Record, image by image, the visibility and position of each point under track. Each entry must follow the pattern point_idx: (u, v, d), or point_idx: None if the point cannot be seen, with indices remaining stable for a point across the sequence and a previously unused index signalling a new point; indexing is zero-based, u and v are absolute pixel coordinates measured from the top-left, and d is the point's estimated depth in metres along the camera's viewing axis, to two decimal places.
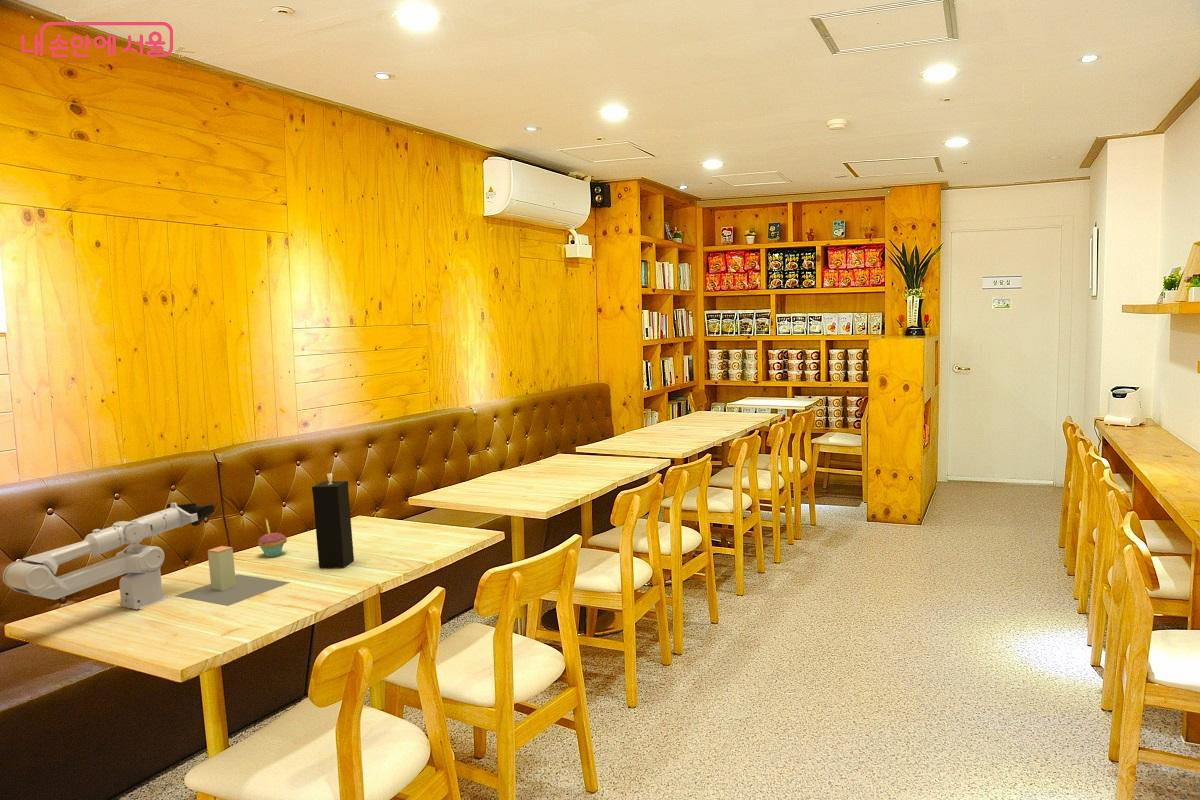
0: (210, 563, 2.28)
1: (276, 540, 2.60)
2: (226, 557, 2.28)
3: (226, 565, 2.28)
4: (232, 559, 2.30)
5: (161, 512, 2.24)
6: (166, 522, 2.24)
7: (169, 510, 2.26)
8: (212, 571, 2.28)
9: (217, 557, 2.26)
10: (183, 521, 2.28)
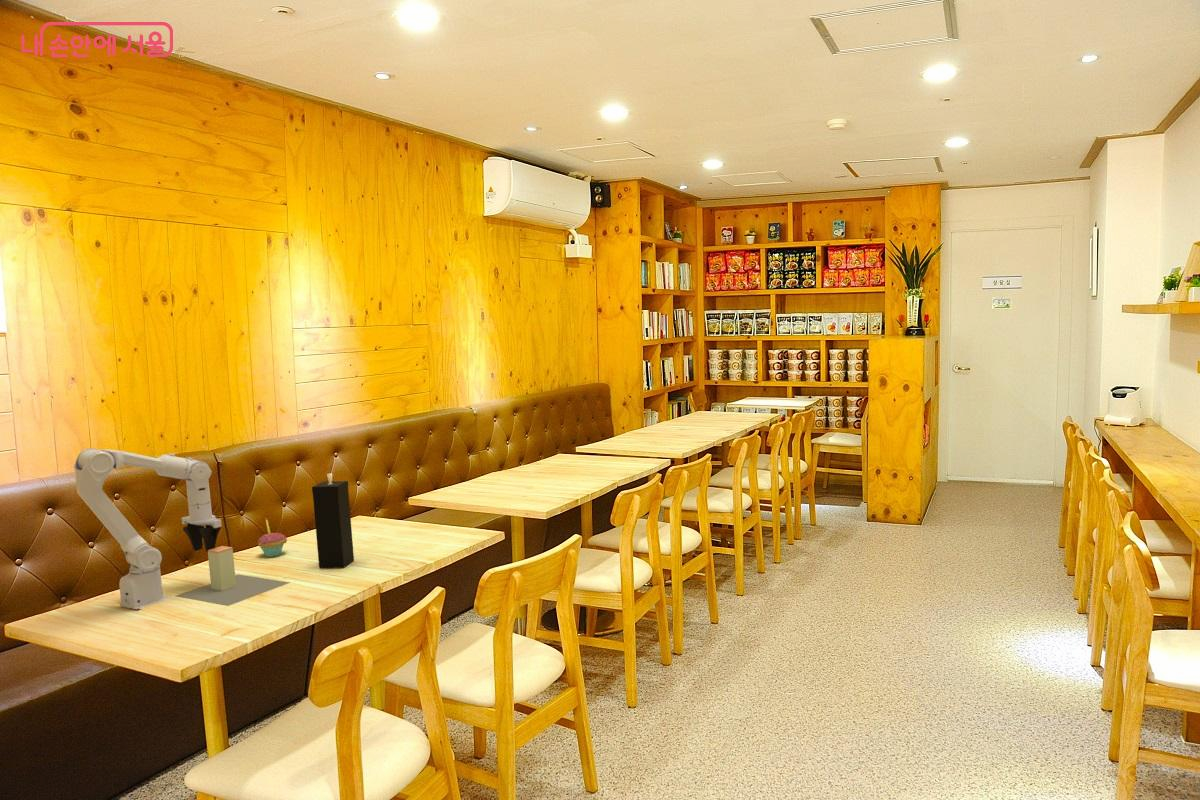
0: (210, 563, 2.28)
1: (276, 540, 2.60)
2: (226, 557, 2.28)
3: (226, 565, 2.28)
4: (232, 559, 2.30)
5: None
6: (206, 503, 2.30)
7: None
8: (212, 571, 2.28)
9: (217, 557, 2.26)
10: None
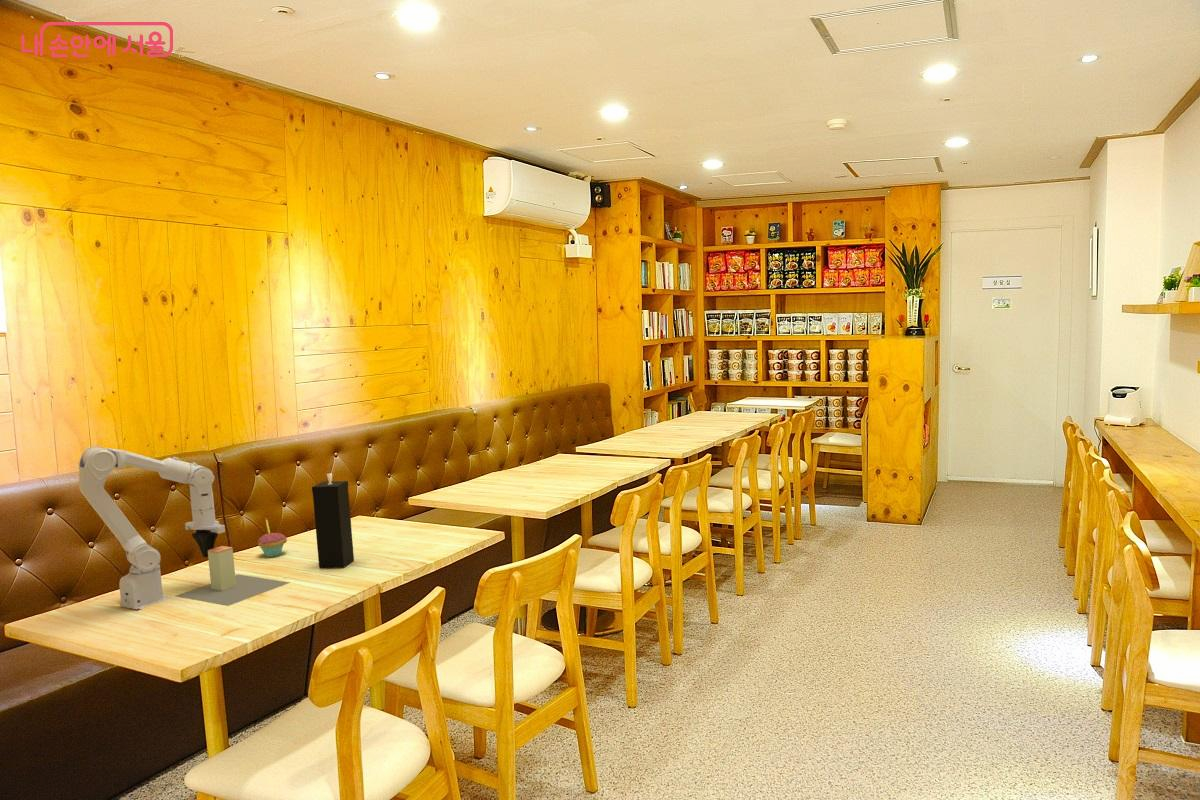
0: (210, 563, 2.28)
1: (276, 540, 2.60)
2: (226, 557, 2.28)
3: (226, 565, 2.28)
4: (232, 559, 2.30)
5: None
6: (209, 509, 2.29)
7: None
8: (212, 571, 2.28)
9: (217, 557, 2.26)
10: None
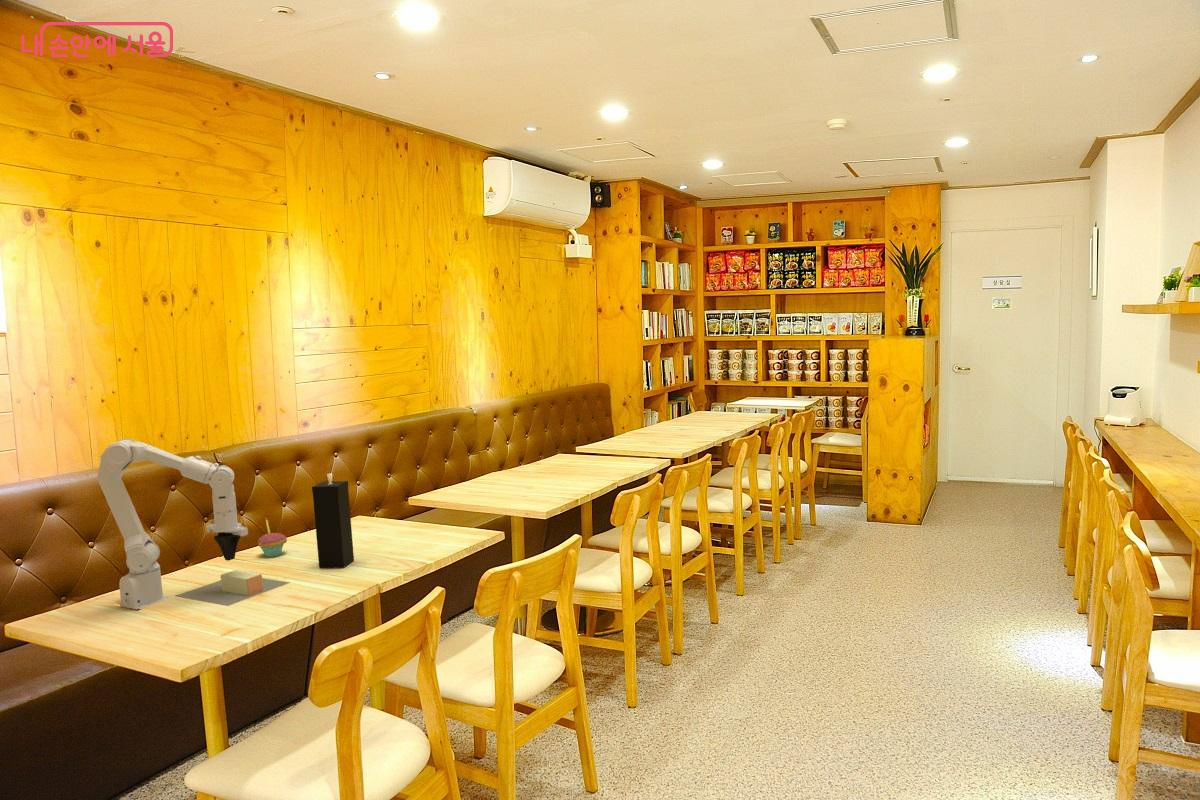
0: (238, 579, 2.23)
1: (276, 540, 2.60)
2: None
3: None
4: None
5: None
6: (232, 511, 2.25)
7: None
8: (233, 580, 2.24)
9: (244, 592, 2.22)
10: None
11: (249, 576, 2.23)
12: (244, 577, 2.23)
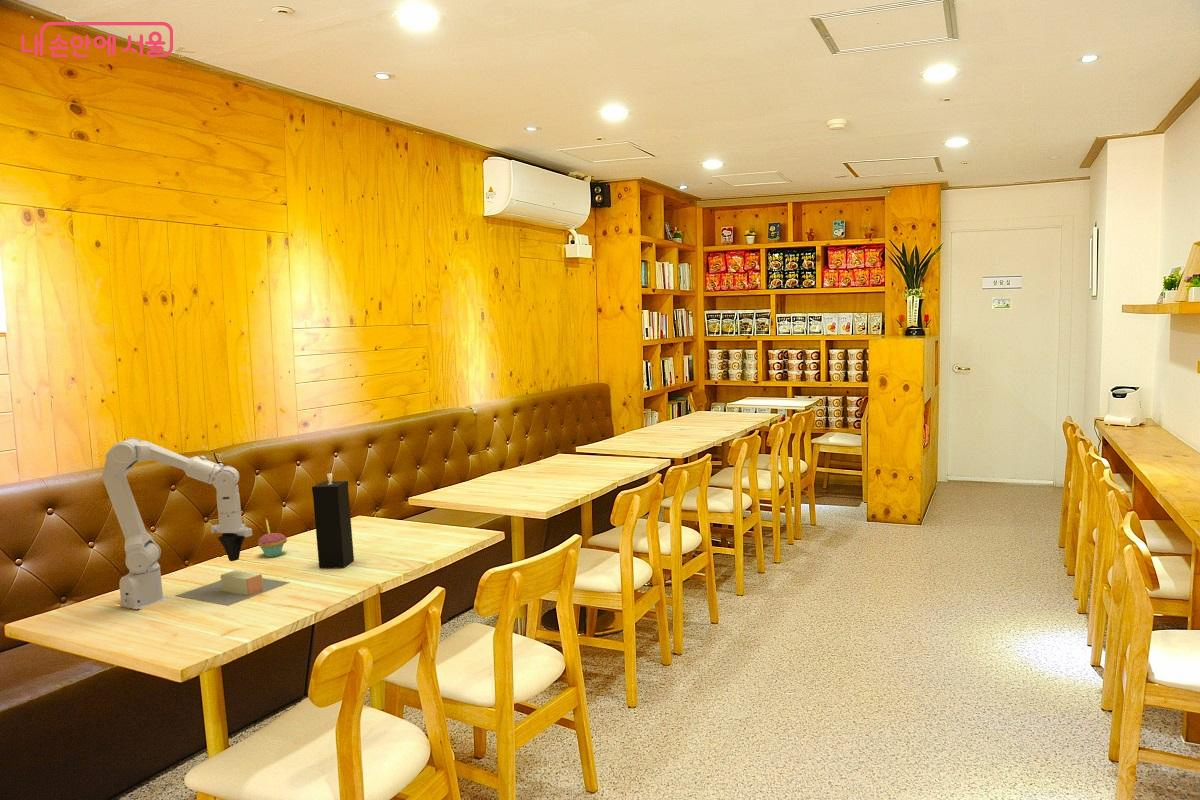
0: (238, 579, 2.23)
1: (276, 540, 2.60)
2: None
3: None
4: None
5: None
6: (236, 512, 2.24)
7: None
8: (233, 580, 2.24)
9: (244, 592, 2.22)
10: None
11: (249, 576, 2.23)
12: (244, 577, 2.23)
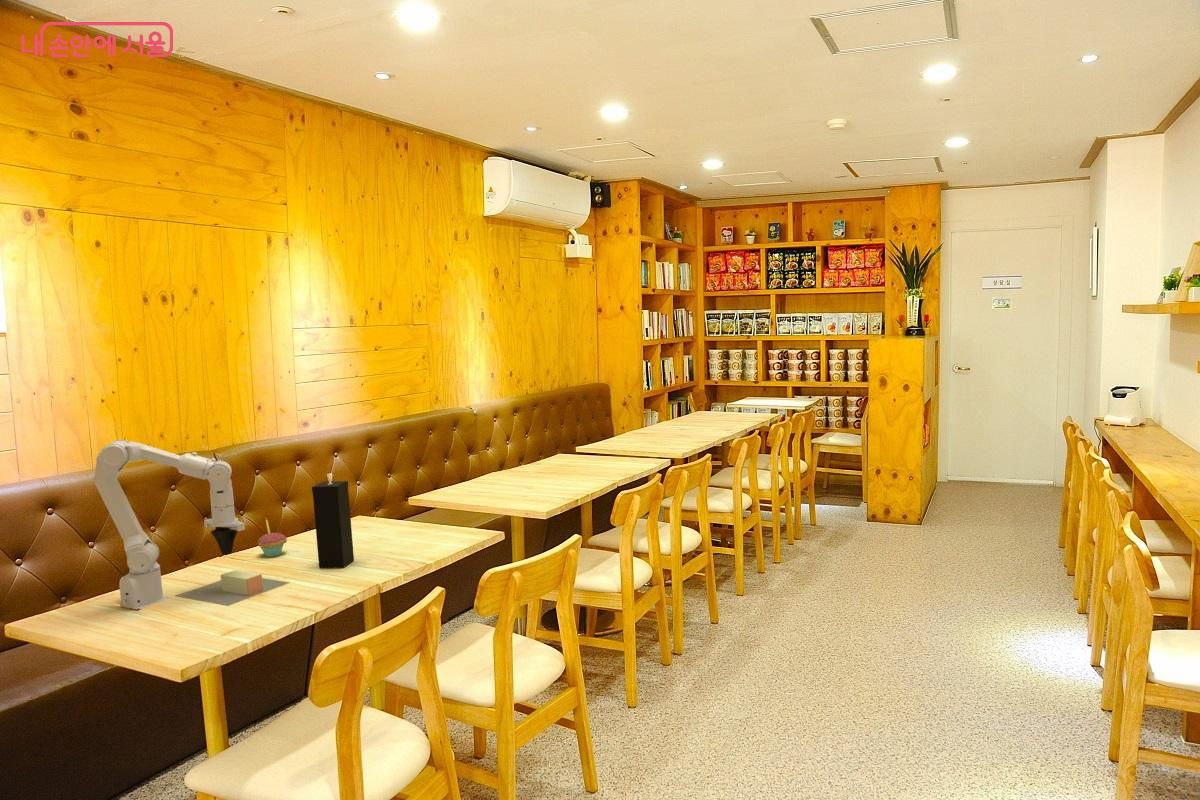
0: (238, 579, 2.23)
1: (276, 540, 2.60)
2: None
3: None
4: None
5: None
6: (229, 506, 2.25)
7: None
8: (233, 580, 2.24)
9: (244, 592, 2.22)
10: None
11: (249, 576, 2.23)
12: (244, 577, 2.23)
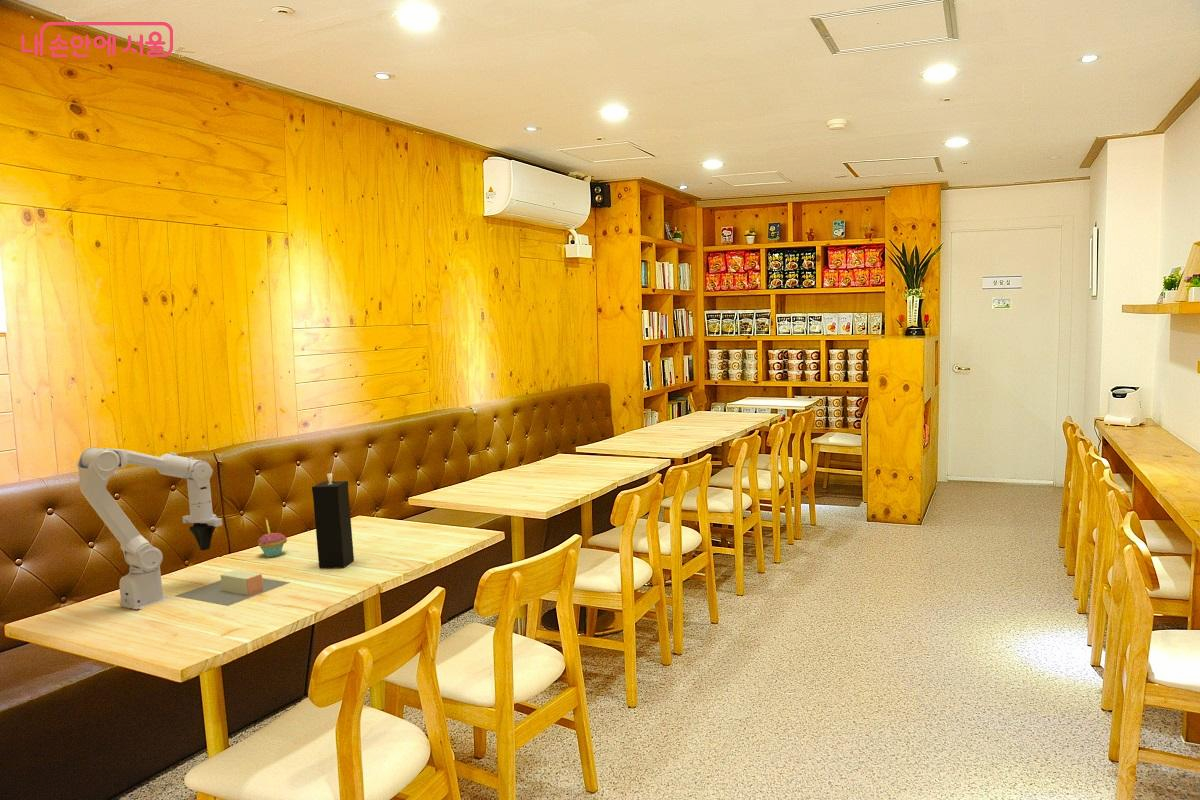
0: (238, 579, 2.23)
1: (276, 540, 2.60)
2: None
3: None
4: None
5: None
6: (207, 502, 2.31)
7: None
8: (233, 580, 2.24)
9: (244, 592, 2.22)
10: None
11: (249, 576, 2.23)
12: (244, 577, 2.23)
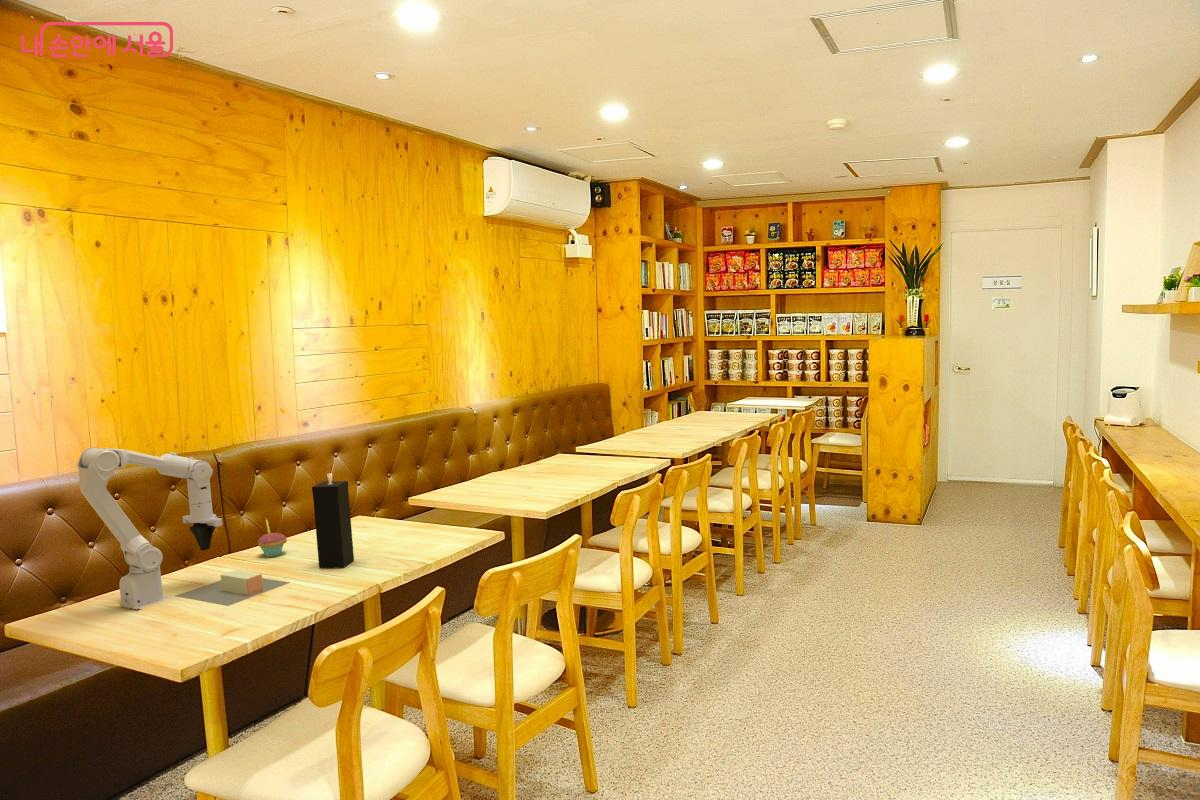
0: (238, 579, 2.23)
1: (276, 540, 2.60)
2: None
3: None
4: None
5: None
6: (207, 502, 2.31)
7: None
8: (233, 580, 2.24)
9: (244, 592, 2.22)
10: None
11: (249, 576, 2.23)
12: (244, 577, 2.23)
